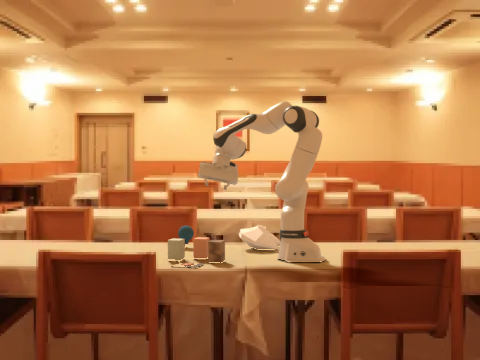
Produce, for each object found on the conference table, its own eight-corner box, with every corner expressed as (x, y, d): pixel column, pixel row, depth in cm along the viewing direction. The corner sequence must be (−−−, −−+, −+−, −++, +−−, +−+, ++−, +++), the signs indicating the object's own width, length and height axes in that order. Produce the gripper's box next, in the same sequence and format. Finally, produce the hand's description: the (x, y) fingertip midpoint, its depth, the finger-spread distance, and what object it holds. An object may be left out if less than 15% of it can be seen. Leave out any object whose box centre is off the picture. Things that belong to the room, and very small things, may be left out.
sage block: (184, 259, 258) (184, 238, 257) (179, 262, 252) (179, 240, 252) (173, 259, 259) (172, 238, 259) (167, 261, 254) (167, 240, 253)
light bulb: (186, 249, 288) (186, 226, 288) (175, 247, 293) (174, 225, 293) (197, 247, 295) (196, 225, 294) (185, 246, 300) (185, 224, 299)
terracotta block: (209, 258, 262) (209, 237, 261) (205, 260, 256) (205, 239, 256) (197, 257, 263) (197, 237, 263) (193, 259, 258) (193, 238, 257)
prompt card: (203, 264, 245) (203, 262, 245) (196, 268, 236) (196, 266, 236) (179, 263, 248) (178, 261, 248) (171, 267, 240) (171, 265, 240)
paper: (276, 254, 273) (276, 229, 272) (231, 251, 281) (231, 227, 281) (289, 246, 296) (289, 223, 296) (247, 244, 305) (247, 222, 304)
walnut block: (225, 261, 252) (224, 240, 252) (221, 264, 246) (220, 242, 246) (212, 261, 254) (212, 239, 253) (208, 263, 248) (208, 241, 248)
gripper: (201, 157, 274) (195, 179, 266) (240, 165, 275) (236, 187, 267) (200, 164, 279) (194, 186, 271) (239, 172, 280) (234, 194, 272)
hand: (215, 187), depth 269 cm, fingers open, 8 cm apart
